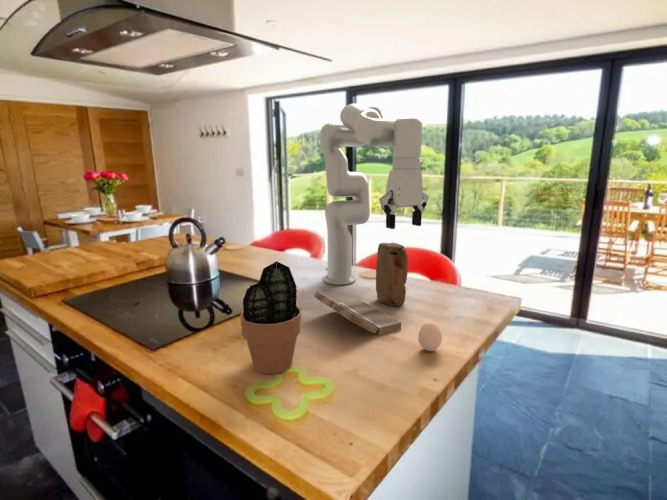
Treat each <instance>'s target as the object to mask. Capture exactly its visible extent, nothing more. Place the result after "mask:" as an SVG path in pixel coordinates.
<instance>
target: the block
mask: <svg viewBox="0 0 667 500" xmlns="http://www.w3.org/2000/svg"><path fill="white" fill-rule="evenodd" d="M408 262H409V259H408V253H407V251H406V248H405V246H404V245H403V244H400V243H396V242H380V243H379V244H378V247H377V253H376V268H375V291H376V297H377V298H376V299H377V300H378V301H380V302H381V303H382V304H386V305H388V306H391V307H400V306H402V305H404V304H405V301H406V293H407V292H406V289H407V287H406V283H407V279H408V270H409V269H408V268H409V263H408Z"/></svg>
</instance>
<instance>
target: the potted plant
mask: <svg viewBox="0 0 667 500" xmlns="http://www.w3.org/2000/svg"><path fill="white" fill-rule="evenodd" d="M242 308H243V309H242V311H241V313H240V324H241V325H240V326H241V334H242V336H243V338H244V339H245V340H246V343H247V347H248V350H249V353H250V359H251V361H252V365H253V368H254V370H256V371H257V372H258V373H262V374H267V375H274V374H275V375H276V374H279V372H281V373H282V371H283V372H285V371H287V370H288V369H290V368H291V366H292V364H293V359H294V354H295V347H296V345H297V339H298V338H297V337H298V336H299V334H300V333H301V326H302V325H301V323H302V310H301V308H300V307H299V306H298V305H297V284H296V282H295V279H294V276H293V274H292V271H291V269H290V266H287V265H285V264H283V263H281V262H279V261H275V262H273V263H271V264H269V265H267V266H265V267H264V268H263V269H262V271H261V274H260V277H259V280H258V282H257V283H255V284H251V285H249V287H248V288H247V289H246V292H245V294H244V296H243V300H242ZM286 369H287V370H286ZM284 370H285V371H284Z"/></svg>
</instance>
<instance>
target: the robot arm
mask: <svg viewBox="0 0 667 500" xmlns="http://www.w3.org/2000/svg"><path fill="white" fill-rule="evenodd" d="M339 114H340V116H339V117H340V121H338V122H336V121H335V122H328V123H326V124H323V126H322V127H321V129H320V133H319V144H320V149H321V152H322V155H323V158H324V162H325V178H326V179H325V180H326V189H327V193H328V195H329V196H331V197H333V198H351V197H352V198H353V200H352V199H351V200H349V199H345V200H334V201H331V202H329V203H327V204H326V207H325V209H324V216H325V221H326V229H327V232H326V233H327V266H326V267H325V271H326V272H327V274H326V275H324V277H323V281H324V282H325V283H327V284H329V285H335V286H337V285H338V286H345V285H351V284H353V283H355V282H356V277H355V275H352V260H353V258H352V257H353V255H352V254H353V251H352V250H353V238H352V234H351V232H350V231H349V229H348V227H347V226H354V225H365V224H366V223H367V222H369V219H370V214H371V212H370V211H371V209H370V207H371V206H370V195H369V194H370V192H369V182H368V179H367V177H366V175H365V174H364V173H363V172H359V171H349V161H348V158H347V156H346V155H345V153H344V152H343V150H342V149H341V148H340V147H344V148H345V147H347V148H349V147H350V148H351V147H352V148H360V147H364V146H368V147H375V148H376V147H381V148H382V147H383V148H384V147H386V148H387V147H388V148H392V164H391V165H392V166H391V167H392V169H391V170H389V173H388V176H387V180H386V181H387V182H386V189H385V191H386V192H385V194H384V195H382V196H381V197H379V198H378V201H379V204H380V206H381V209H382V211H383V212H384V214H385V228H386V229H392V230H395V229H396V214H395V213H396V211H397V209H398V208H409V207H411V208H412V209H413V211H412V212H411V213H412V215H411V217H412V218H411V225H412V226H416V227H421V226H422V219H423V218H422V214H423V212H424V210H425V208H426V206H427V203H428V201H429V198H430V196H429V195H428V194H427V193H426V192H424V191H423V189H424V188H423V187H424V186H423V175H422V169H421V166H422V164H423V162H422V160H421V157H422V138H423V137H422V136H423V122H422V119H421V118H419V117H415V116H404V117H399V118H395V119H389V118H387V119H386V118H384V114H383V110H382V109H381V108H380V107H379V106H378V105H376V104H365V103H349V104H347V105H346V106H344V107H343V108H342V110H341V111H340V113H339Z"/></svg>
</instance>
